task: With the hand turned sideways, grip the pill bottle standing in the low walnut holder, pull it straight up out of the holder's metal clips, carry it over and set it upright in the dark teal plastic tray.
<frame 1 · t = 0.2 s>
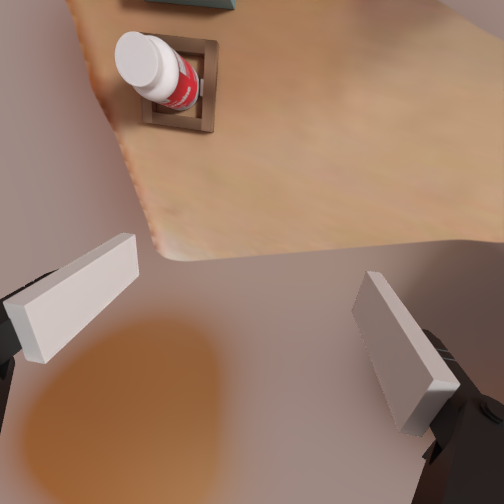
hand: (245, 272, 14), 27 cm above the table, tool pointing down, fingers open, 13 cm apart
bottle holder: (180, 86, 35), on the table
pill bottle: (181, 86, 35), resting in bottle holder
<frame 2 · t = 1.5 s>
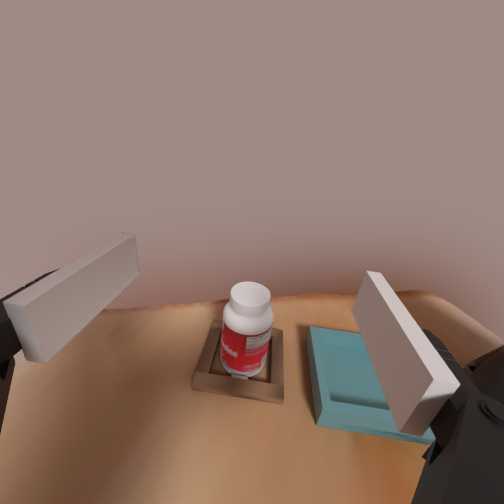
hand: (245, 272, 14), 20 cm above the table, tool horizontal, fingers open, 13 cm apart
tray: (356, 383, 31), on the table
bottle holder: (242, 359, 33), on the table
pill bottle: (242, 360, 33), resting in bottle holder
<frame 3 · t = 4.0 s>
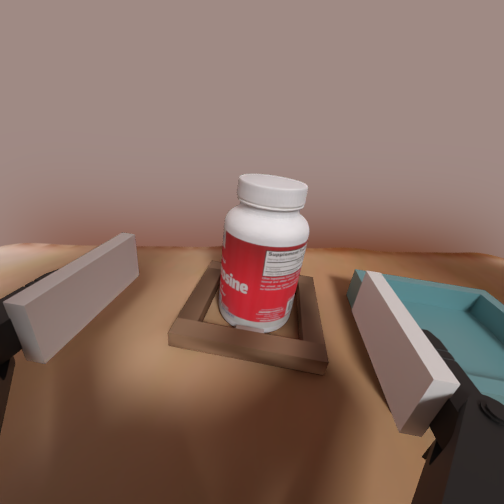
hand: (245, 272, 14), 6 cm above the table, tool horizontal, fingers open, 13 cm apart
tray: (440, 351, 19), on the table
bottle holder: (254, 310, 21), on the table
pill bottle: (253, 312, 21), resting in bottle holder
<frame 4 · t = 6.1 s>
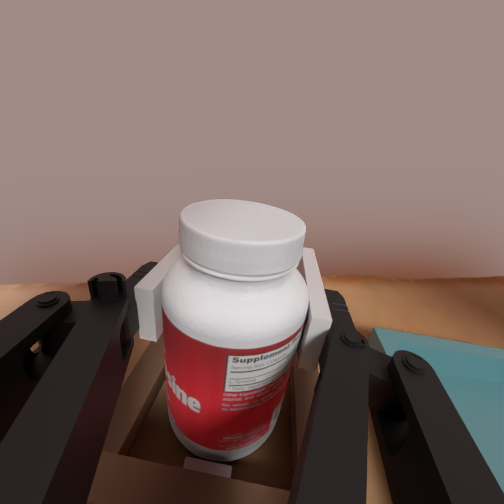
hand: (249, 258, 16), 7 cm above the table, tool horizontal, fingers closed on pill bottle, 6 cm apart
bottle holder: (224, 401, 14), on the table
pill bottle: (224, 403, 14), resting in bottle holder, touching gripper
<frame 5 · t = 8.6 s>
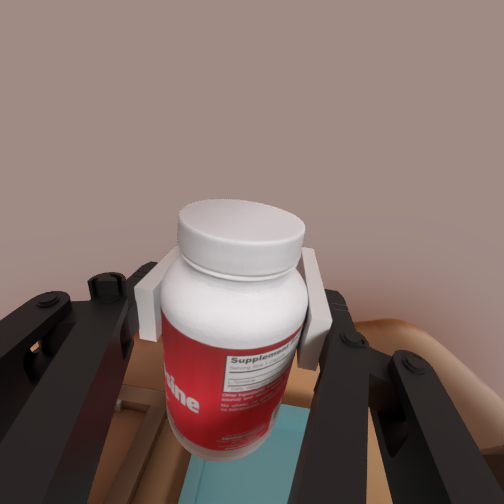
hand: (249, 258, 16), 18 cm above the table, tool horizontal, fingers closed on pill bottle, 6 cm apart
tray: (264, 503, 19), on the table
bottle holder: (84, 451, 20), on the table
pill bottle: (223, 403, 14), point 11 cm above the table, touching gripper
when the fingers open (9 cm above the table, at t = 11.4 s): pill bottle drops 1 cm, resting on tray.
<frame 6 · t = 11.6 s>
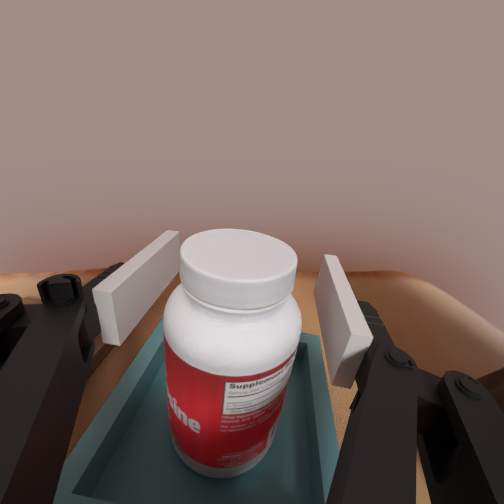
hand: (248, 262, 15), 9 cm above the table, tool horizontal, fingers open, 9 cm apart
tray: (222, 426, 15), on the table
bottle holder: (11, 367, 17), on the table
pill bottle: (223, 419, 14), point 1 cm above the table, touching tray
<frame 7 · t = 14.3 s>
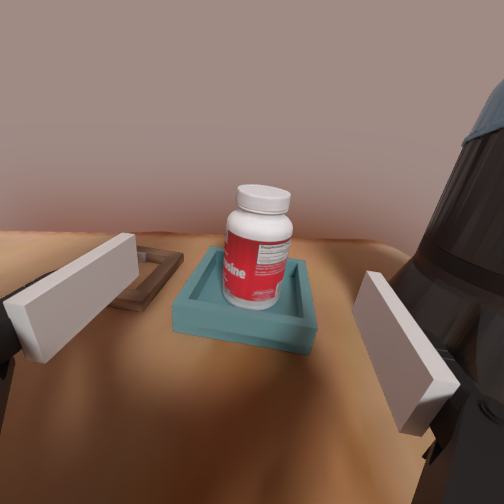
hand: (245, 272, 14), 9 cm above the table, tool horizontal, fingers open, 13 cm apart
tray: (248, 301, 26), on the table
bottle holder: (122, 275, 28), on the table
pill bottle: (250, 295, 26), point 1 cm above the table, touching tray
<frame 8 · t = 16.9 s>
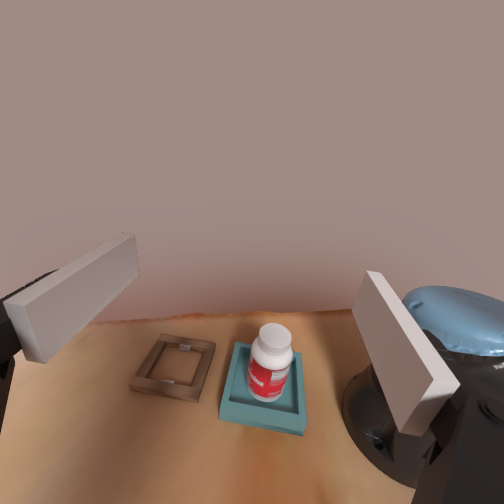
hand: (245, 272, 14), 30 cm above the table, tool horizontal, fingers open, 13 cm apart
tray: (263, 388, 40), on the table
bottle holder: (177, 366, 42), on the table
pill bottle: (264, 385, 40), point 1 cm above the table, touching tray
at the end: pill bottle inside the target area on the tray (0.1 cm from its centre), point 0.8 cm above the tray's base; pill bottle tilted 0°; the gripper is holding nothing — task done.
